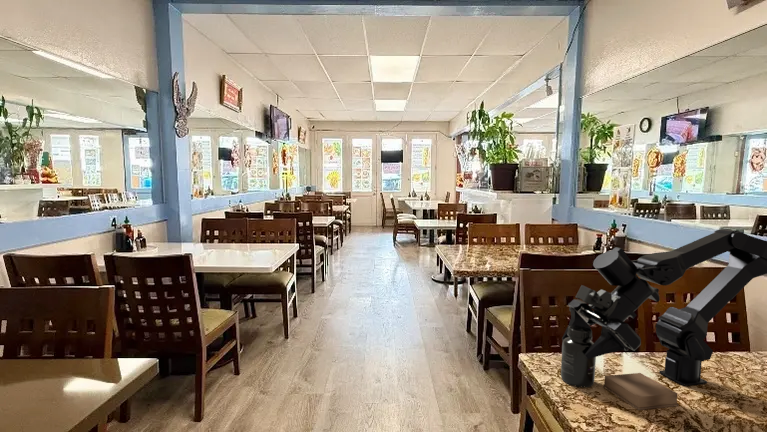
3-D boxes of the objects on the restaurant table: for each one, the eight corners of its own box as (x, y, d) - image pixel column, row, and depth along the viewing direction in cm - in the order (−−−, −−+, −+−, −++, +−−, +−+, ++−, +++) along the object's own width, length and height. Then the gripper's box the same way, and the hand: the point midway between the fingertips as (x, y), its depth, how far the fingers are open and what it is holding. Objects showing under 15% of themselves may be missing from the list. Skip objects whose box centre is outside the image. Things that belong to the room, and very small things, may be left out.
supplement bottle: (598, 390, 85) (601, 335, 84) (564, 386, 87) (567, 332, 86) (589, 375, 92) (591, 324, 91) (557, 372, 93) (559, 322, 93)
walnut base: (639, 383, 89) (640, 372, 88) (678, 405, 79) (679, 393, 79) (602, 386, 87) (603, 375, 87) (638, 410, 78) (638, 397, 77)
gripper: (578, 266, 97) (532, 310, 97) (630, 284, 79) (574, 339, 79) (606, 298, 98) (561, 341, 98) (665, 323, 80) (609, 377, 80)
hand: (574, 348), depth 89 cm, fingers open, 9 cm apart
